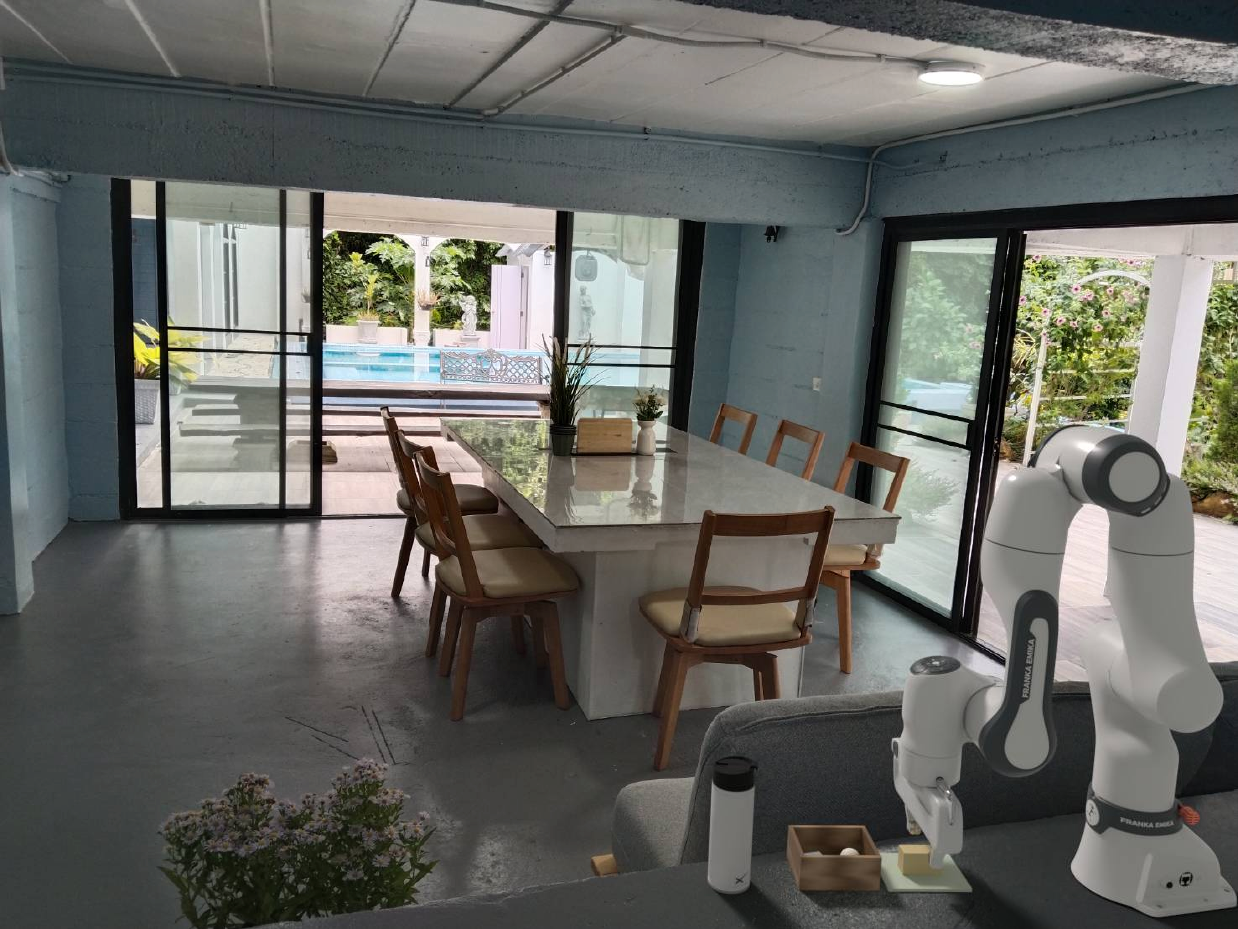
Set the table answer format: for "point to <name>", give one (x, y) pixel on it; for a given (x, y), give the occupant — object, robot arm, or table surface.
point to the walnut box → (833, 858)
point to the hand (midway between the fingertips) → (924, 848)
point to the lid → (920, 872)
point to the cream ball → (849, 852)
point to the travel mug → (731, 824)
